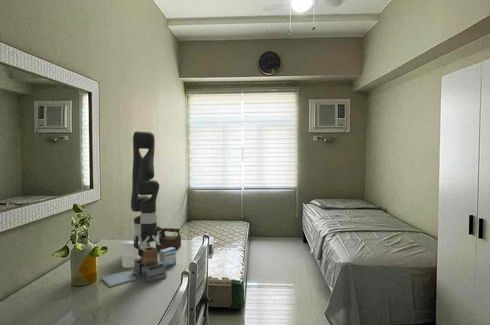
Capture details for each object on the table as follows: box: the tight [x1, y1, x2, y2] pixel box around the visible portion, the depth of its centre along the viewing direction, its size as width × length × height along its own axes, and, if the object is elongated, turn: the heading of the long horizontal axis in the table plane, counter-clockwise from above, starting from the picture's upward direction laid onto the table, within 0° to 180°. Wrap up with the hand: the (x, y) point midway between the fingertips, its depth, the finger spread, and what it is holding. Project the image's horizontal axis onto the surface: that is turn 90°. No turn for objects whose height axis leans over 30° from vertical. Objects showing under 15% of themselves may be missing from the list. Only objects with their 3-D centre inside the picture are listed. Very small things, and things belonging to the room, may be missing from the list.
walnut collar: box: [140, 245, 159, 265], centre depth 154 cm, size 6×6×7 cm
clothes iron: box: [157, 226, 182, 251], centre depth 198 cm, size 8×16×13 cm, turn 83°
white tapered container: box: [121, 240, 141, 269], centre depth 169 cm, size 9×9×12 cm
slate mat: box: [100, 270, 137, 288], centre depth 150 cm, size 12×12×1 cm
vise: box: [132, 257, 168, 284], centre depth 155 cm, size 16×10×12 cm, turn 41°
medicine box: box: [158, 247, 177, 269], centre depth 168 cm, size 8×4×9 cm, turn 143°
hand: (149, 254), depth 154 cm, fingers open, 8 cm apart
